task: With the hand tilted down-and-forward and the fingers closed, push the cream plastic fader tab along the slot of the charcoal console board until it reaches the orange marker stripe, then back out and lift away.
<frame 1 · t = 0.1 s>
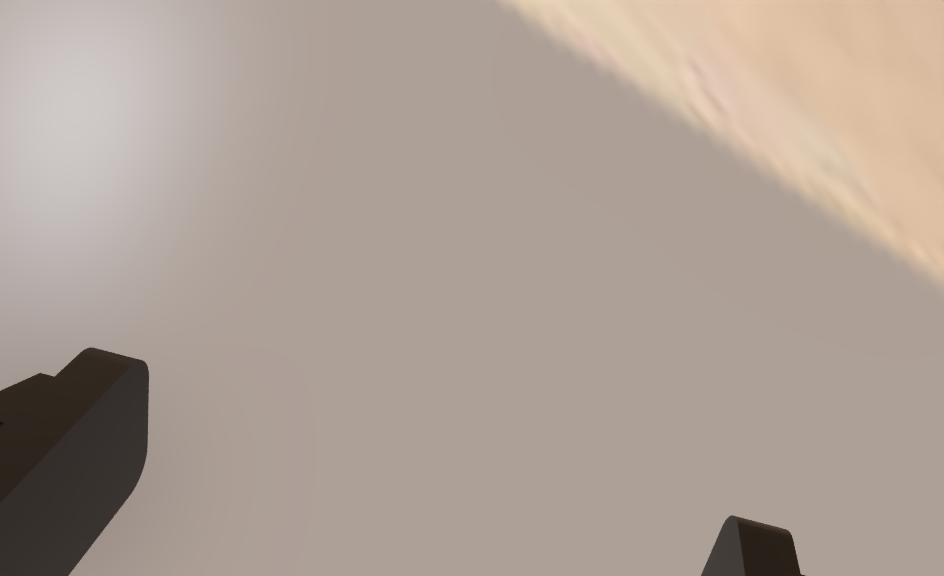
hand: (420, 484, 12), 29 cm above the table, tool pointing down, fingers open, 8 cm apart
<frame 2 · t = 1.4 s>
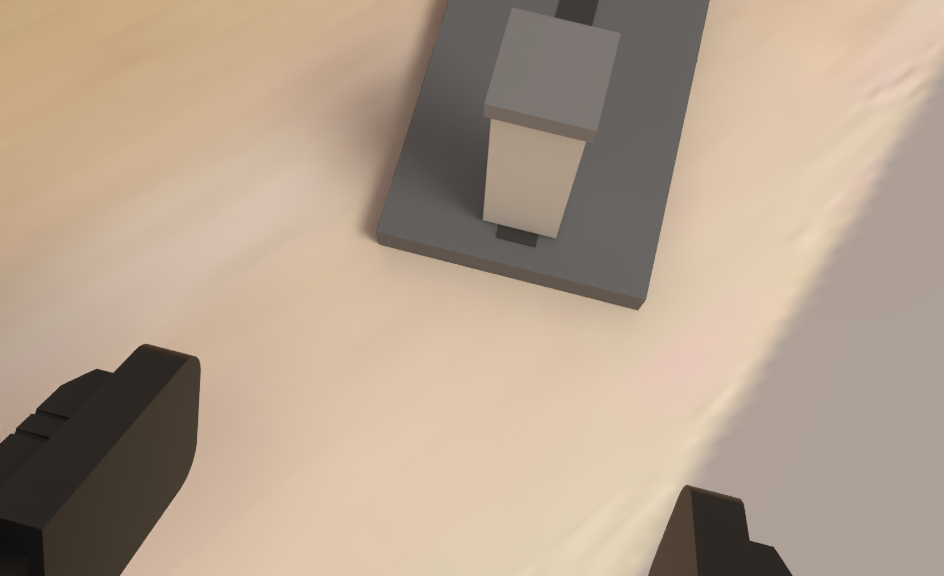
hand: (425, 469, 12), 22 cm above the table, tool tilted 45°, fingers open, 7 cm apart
console: (572, 31, 40), on the table
fader: (538, 141, 31), point 7 cm above the table, slide at 0.0 cm
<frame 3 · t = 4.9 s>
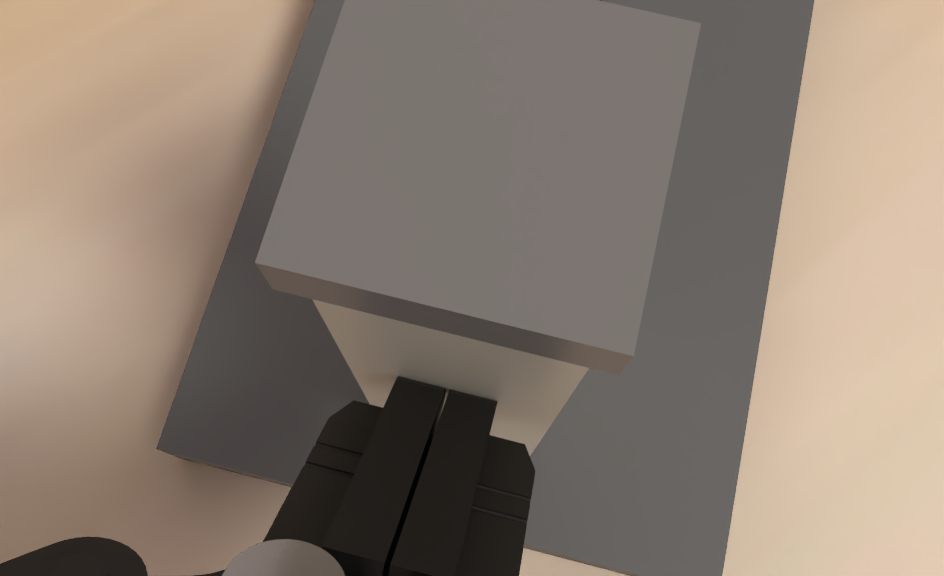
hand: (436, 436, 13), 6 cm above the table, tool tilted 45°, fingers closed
console: (560, 31, 22), on the table
fader: (477, 291, 13), point 7 cm above the table, slide at 0.1 cm, touching gripper
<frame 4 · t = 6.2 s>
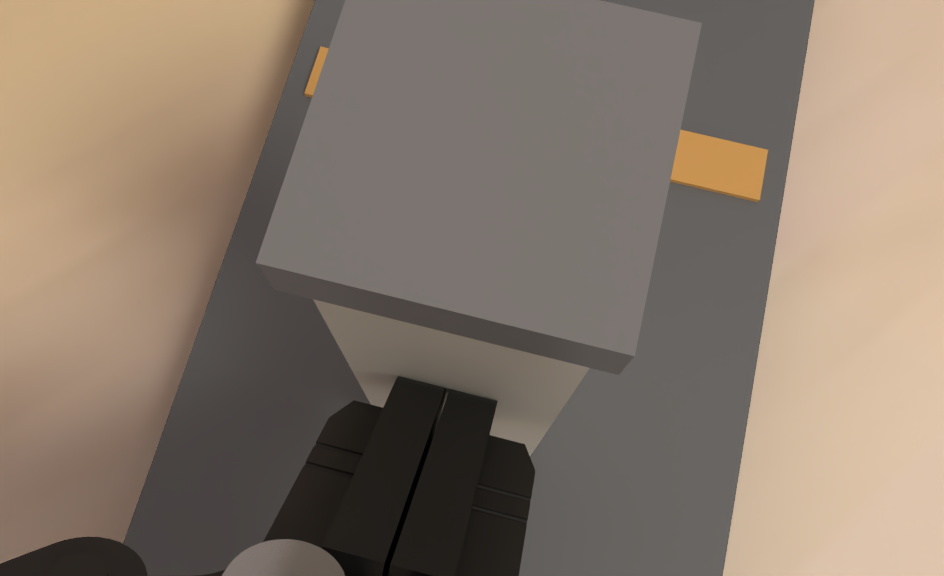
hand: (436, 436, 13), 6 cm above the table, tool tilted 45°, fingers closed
console: (488, 314, 20), on the table
fader: (478, 291, 13), point 7 cm above the table, slide at 7.5 cm, touching gripper
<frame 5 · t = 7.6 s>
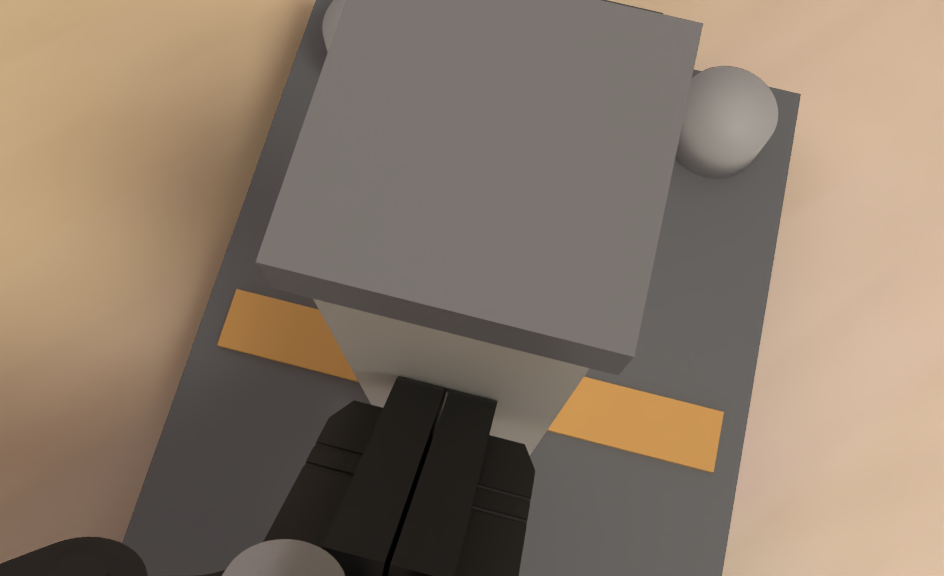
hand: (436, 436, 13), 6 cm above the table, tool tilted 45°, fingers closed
fader: (478, 290, 13), point 7 cm above the table, slide at 13.3 cm, touching gripper
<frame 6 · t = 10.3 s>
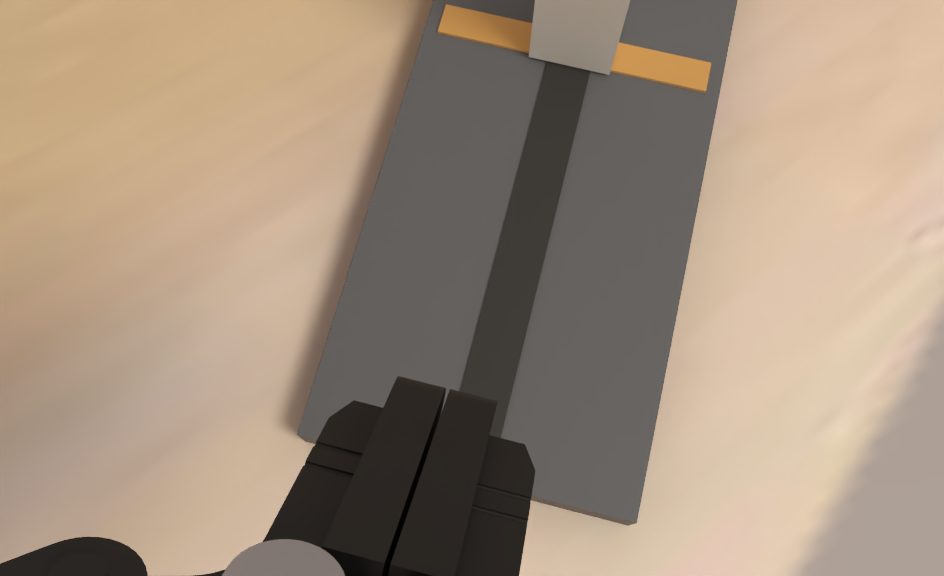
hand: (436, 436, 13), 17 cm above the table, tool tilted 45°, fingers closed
console: (545, 162, 33), on the table
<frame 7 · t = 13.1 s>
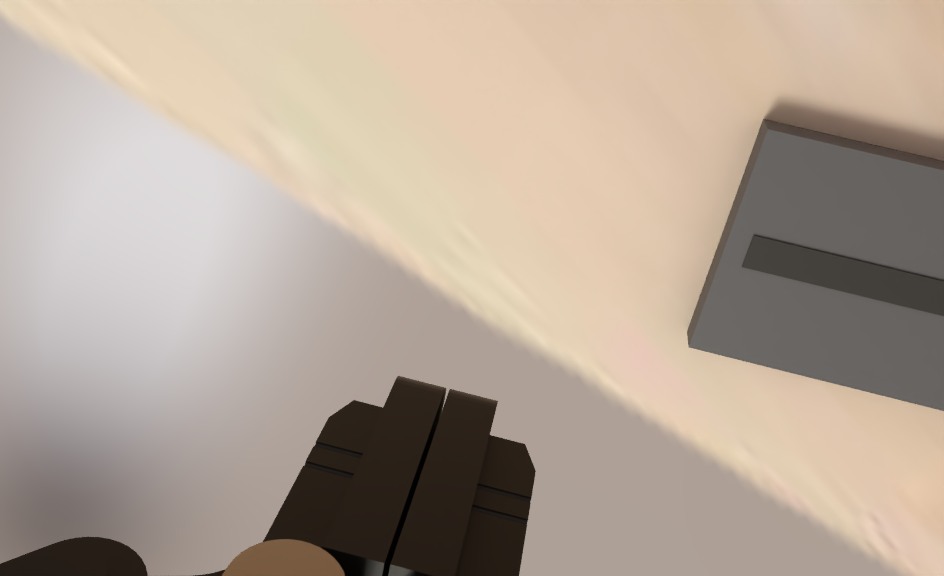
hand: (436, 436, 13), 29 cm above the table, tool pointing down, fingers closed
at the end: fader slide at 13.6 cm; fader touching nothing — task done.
